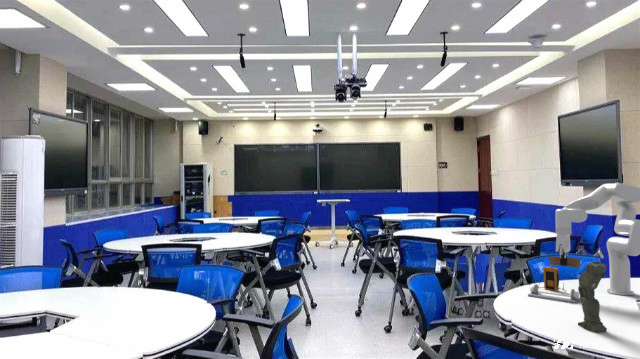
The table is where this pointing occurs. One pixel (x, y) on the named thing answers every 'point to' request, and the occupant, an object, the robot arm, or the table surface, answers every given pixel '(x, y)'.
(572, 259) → the wood plank
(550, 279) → the multimeter
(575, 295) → the pipe run
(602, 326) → the mechanical leg
